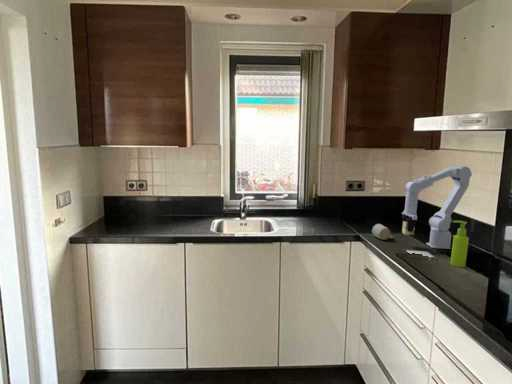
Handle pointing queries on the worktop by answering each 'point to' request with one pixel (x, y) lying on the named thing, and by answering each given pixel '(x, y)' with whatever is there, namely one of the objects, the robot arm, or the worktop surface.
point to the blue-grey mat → (420, 253)
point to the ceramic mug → (381, 232)
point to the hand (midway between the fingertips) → (408, 230)
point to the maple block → (406, 229)
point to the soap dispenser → (459, 246)
